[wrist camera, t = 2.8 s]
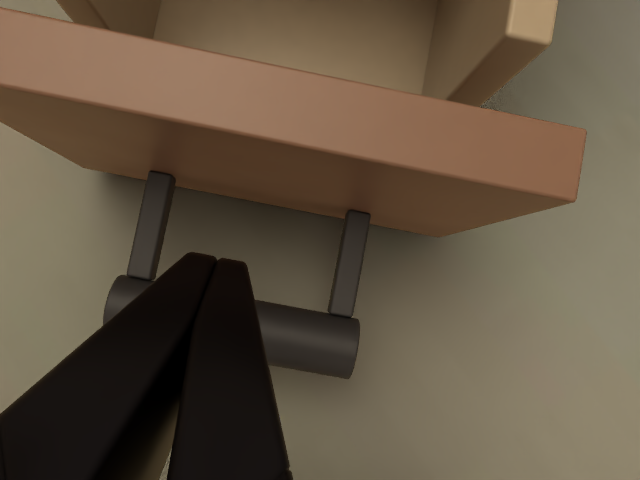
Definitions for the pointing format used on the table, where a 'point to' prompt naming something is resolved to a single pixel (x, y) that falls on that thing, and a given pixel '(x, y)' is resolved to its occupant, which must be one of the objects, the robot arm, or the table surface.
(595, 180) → the table surface
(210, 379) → the robot arm
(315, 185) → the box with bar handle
